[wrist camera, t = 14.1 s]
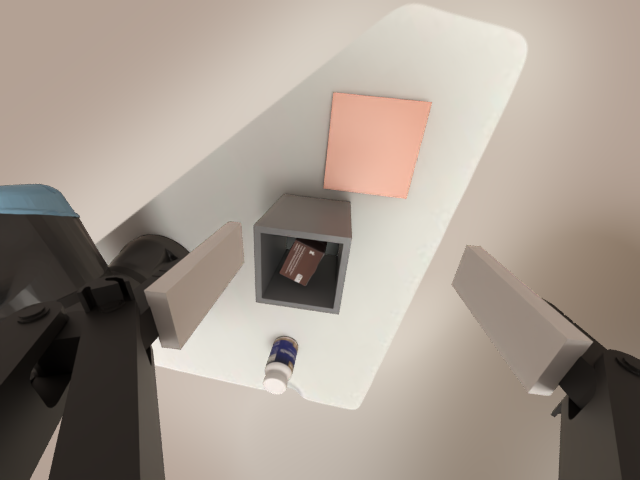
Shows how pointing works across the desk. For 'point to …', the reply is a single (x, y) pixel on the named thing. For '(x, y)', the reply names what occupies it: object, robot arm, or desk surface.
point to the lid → (374, 144)
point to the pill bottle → (280, 365)
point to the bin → (271, 250)
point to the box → (303, 259)
